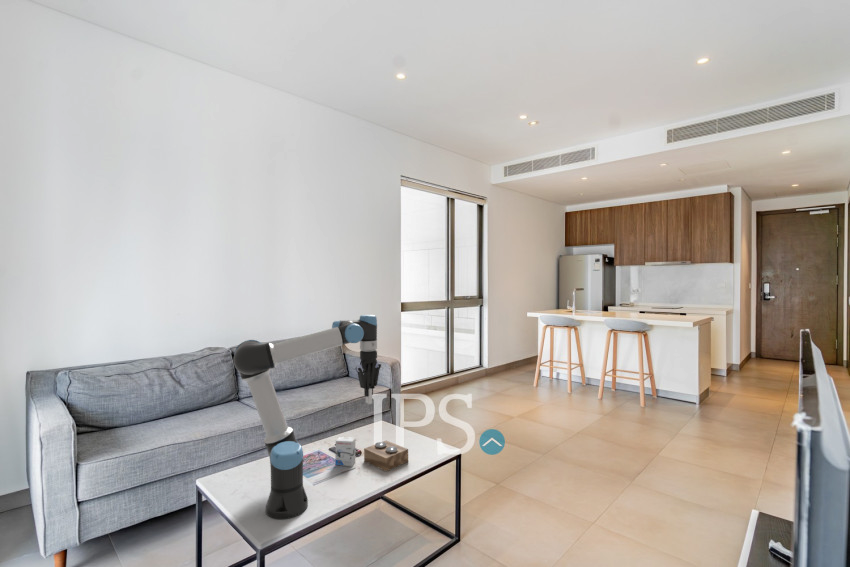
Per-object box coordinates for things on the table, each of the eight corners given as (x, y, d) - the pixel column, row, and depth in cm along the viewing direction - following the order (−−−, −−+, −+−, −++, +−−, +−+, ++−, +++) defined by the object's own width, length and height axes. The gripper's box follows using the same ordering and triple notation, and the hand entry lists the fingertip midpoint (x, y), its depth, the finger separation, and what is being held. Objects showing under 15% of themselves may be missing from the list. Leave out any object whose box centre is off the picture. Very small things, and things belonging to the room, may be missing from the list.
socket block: (386, 471, 189) (385, 458, 189) (364, 460, 200) (364, 448, 200) (408, 461, 199) (408, 449, 199) (386, 452, 211) (386, 440, 210)
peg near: (391, 466, 193) (391, 451, 193) (383, 463, 197) (383, 448, 197) (399, 463, 197) (399, 448, 197) (392, 459, 201) (392, 445, 201)
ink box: (334, 465, 195) (334, 440, 195) (338, 461, 200) (338, 436, 200) (352, 466, 195) (352, 441, 194) (355, 461, 200) (355, 437, 200)
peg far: (380, 461, 199) (380, 447, 199) (373, 458, 203) (373, 444, 203) (388, 458, 203) (388, 443, 203) (381, 455, 206) (381, 441, 206)
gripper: (361, 352, 177) (362, 408, 177) (385, 349, 187) (385, 401, 187) (351, 350, 183) (351, 404, 183) (374, 347, 192) (374, 398, 192)
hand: (368, 403), depth 185 cm, fingers closed
